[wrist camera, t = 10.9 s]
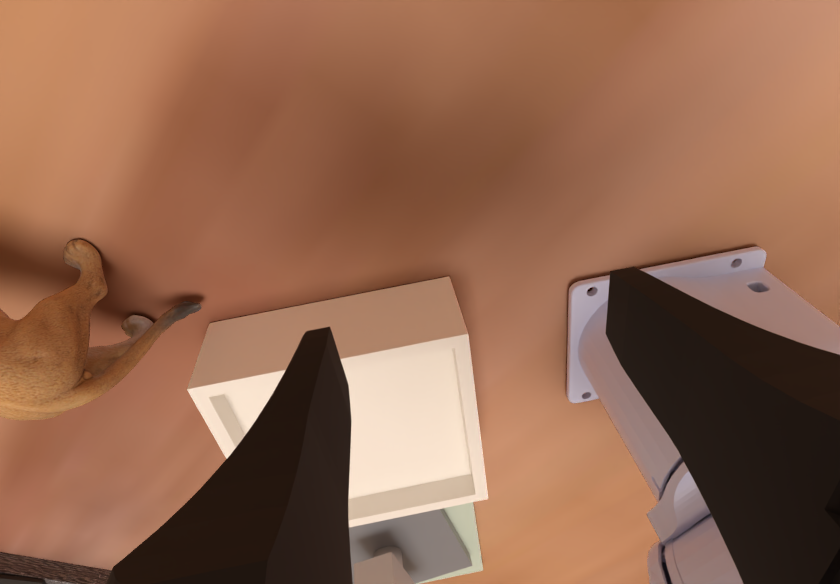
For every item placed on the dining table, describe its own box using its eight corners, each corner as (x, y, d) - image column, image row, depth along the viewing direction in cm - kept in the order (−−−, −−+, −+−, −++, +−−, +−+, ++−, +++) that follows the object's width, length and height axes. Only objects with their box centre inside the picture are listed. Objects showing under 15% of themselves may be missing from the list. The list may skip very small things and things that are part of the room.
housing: (449, 276, 24) (468, 333, 20) (470, 434, 30) (488, 499, 26) (209, 323, 23) (187, 389, 20) (282, 472, 30) (274, 542, 26)
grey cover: (429, 483, 31) (440, 554, 28) (470, 554, 36) (484, 622, 33) (292, 528, 32) (286, 603, 28) (350, 592, 37) (352, 662, 33)
